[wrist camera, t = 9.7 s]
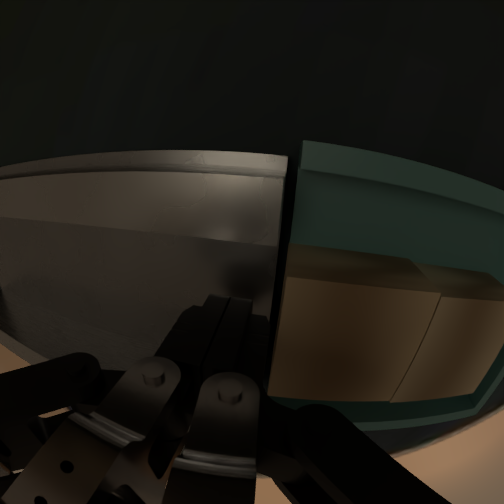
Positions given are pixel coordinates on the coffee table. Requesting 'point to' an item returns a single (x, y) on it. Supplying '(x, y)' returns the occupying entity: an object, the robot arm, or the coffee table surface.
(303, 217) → the tray
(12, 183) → the slot rail
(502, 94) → the coffee table surface
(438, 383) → the chip
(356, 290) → the beige square block
